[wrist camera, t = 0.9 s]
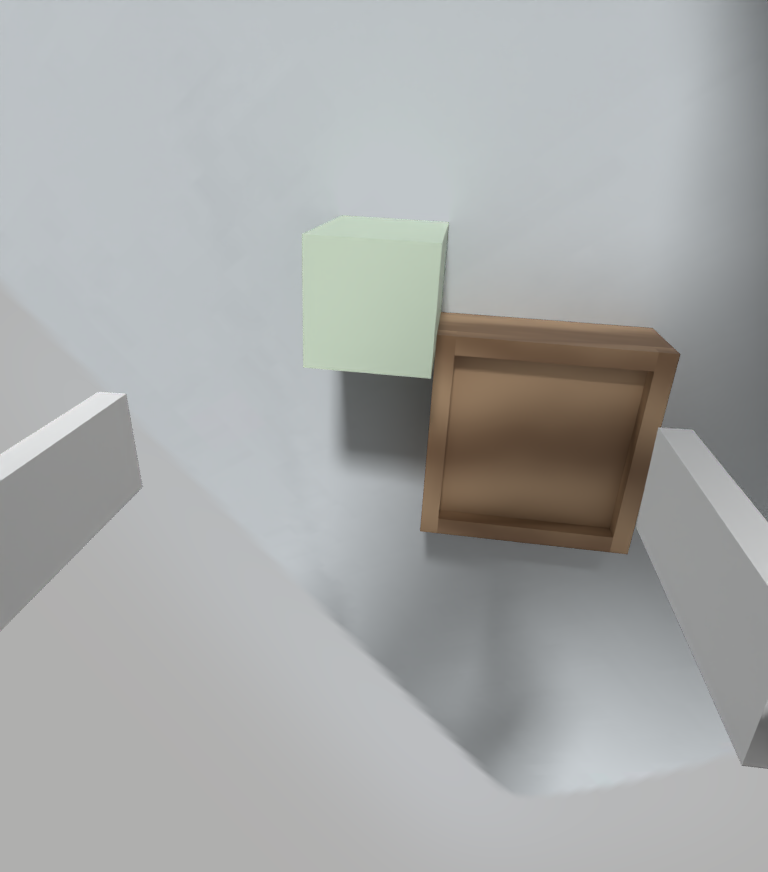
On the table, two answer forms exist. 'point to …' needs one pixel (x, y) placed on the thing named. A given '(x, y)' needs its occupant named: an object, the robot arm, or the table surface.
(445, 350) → the brown crate
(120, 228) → the table surface
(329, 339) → the green block
